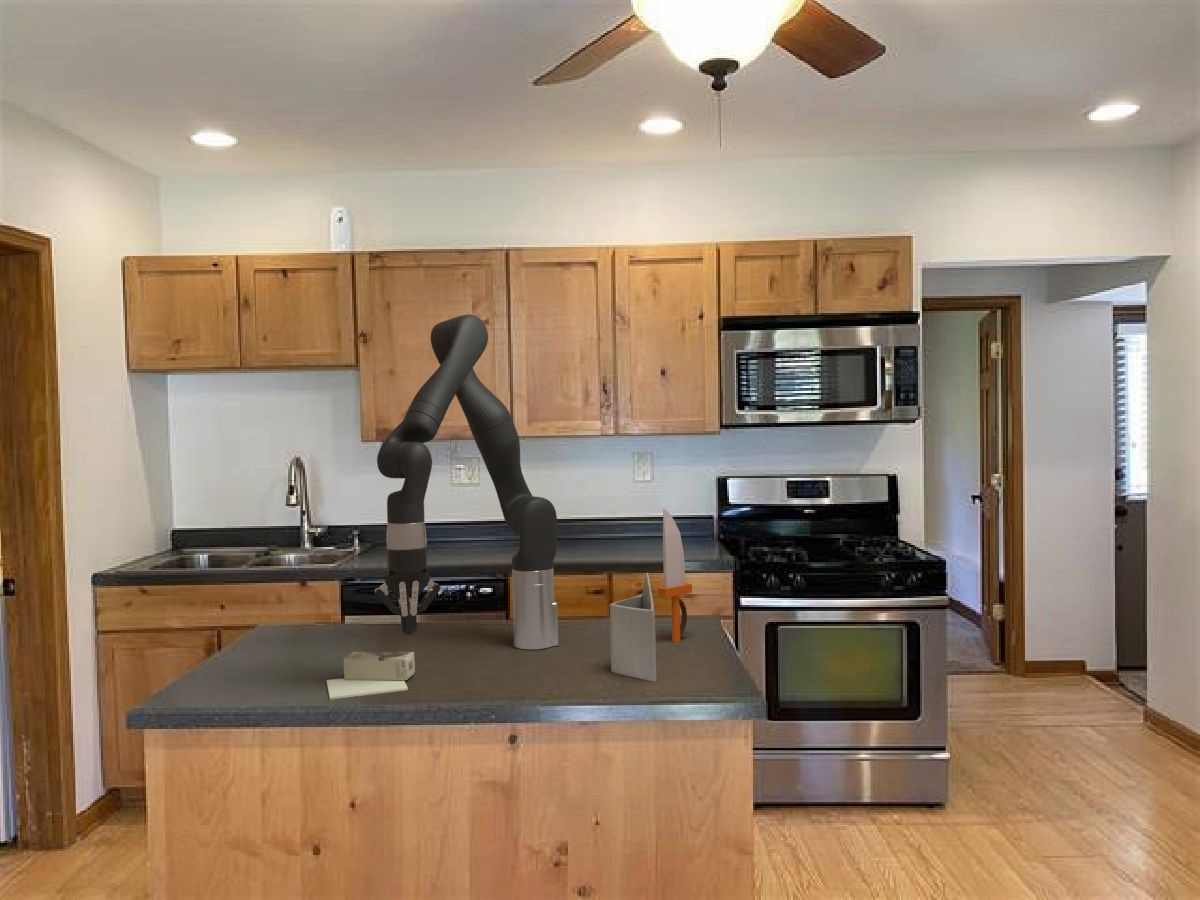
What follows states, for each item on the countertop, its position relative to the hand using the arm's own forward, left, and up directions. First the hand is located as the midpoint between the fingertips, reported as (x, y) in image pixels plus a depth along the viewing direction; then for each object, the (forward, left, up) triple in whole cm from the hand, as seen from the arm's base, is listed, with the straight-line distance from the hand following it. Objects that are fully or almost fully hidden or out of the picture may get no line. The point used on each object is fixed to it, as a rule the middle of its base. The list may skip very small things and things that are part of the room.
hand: (408, 634), depth 173 cm
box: (-1, -1, -7) cm, 7 cm away
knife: (-60, -7, -9) cm, 61 cm away
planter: (-42, +11, -9) cm, 44 cm away
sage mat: (+8, 0, -9) cm, 12 cm away
